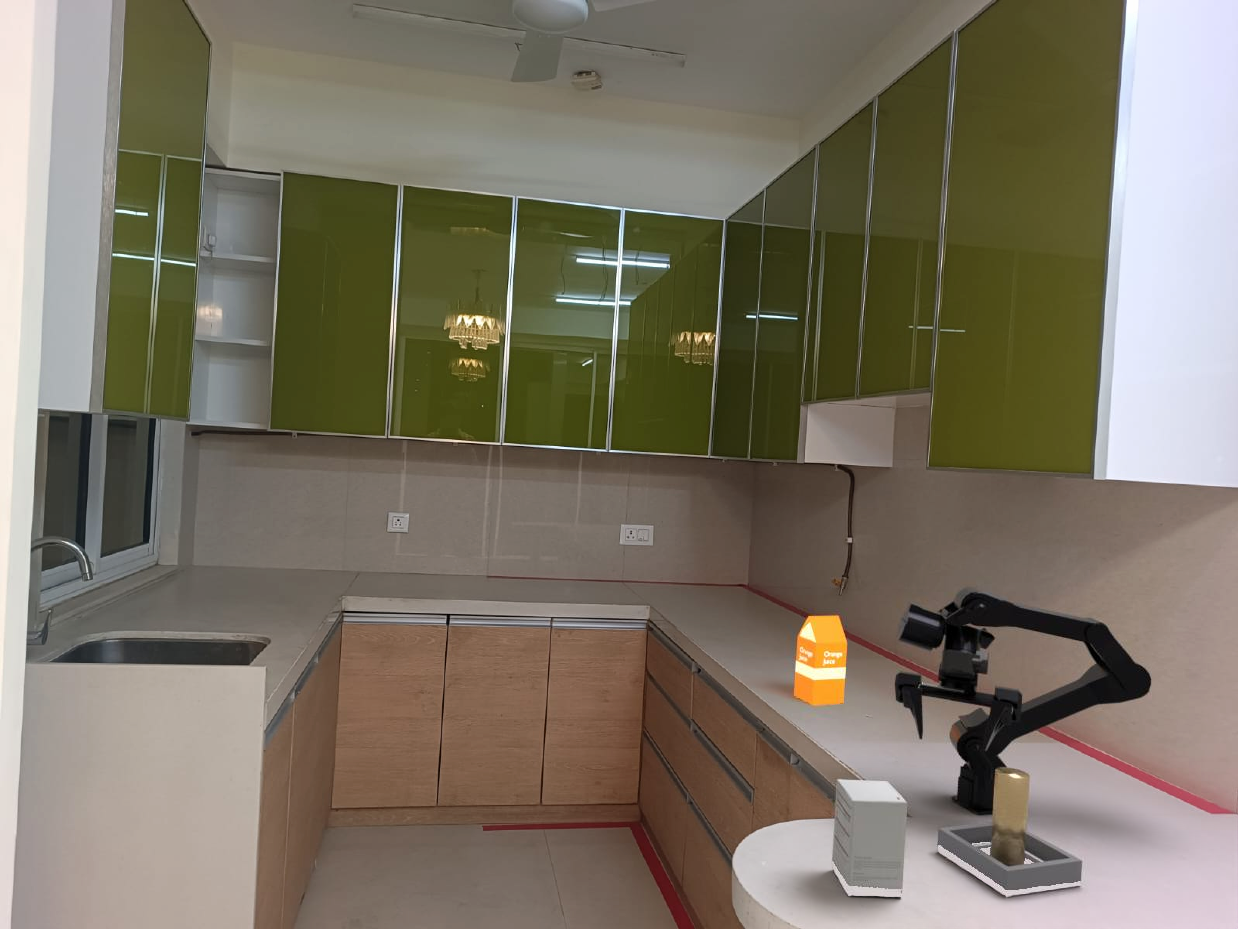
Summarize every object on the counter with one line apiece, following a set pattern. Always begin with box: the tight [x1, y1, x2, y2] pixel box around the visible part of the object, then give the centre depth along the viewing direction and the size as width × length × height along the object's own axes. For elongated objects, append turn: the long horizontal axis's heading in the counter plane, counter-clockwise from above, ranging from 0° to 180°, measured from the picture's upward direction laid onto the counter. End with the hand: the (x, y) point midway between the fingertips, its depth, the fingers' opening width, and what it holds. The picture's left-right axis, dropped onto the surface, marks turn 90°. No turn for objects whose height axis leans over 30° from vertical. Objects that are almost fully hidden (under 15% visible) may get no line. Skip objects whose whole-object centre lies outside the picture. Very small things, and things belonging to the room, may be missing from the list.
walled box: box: [937, 821, 1083, 890], centre depth 119 cm, size 13×13×4 cm
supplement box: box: [831, 778, 908, 890], centre depth 112 cm, size 7×7×13 cm
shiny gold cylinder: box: [990, 766, 1031, 867], centre depth 119 cm, size 4×4×13 cm
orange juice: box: [793, 615, 848, 706], centre depth 201 cm, size 8×9×20 cm
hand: (952, 743), depth 130 cm, fingers open, 9 cm apart
